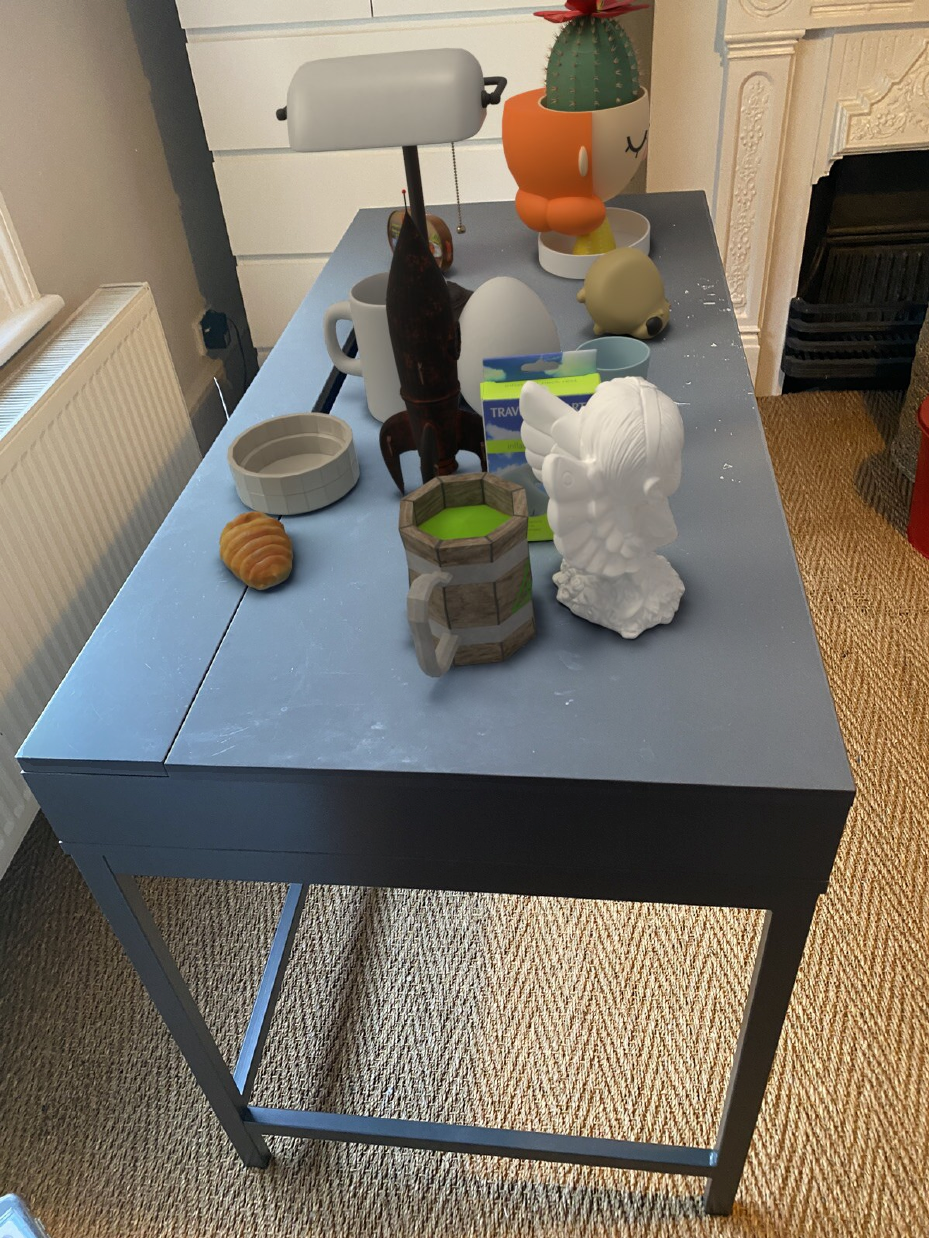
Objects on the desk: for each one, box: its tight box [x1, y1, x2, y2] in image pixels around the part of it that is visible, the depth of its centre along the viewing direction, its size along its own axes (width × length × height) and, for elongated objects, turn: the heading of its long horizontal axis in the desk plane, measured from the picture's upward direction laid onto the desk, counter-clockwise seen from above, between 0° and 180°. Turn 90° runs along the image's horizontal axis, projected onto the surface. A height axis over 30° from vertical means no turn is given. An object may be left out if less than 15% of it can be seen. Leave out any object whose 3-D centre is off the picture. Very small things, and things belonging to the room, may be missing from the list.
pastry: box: [218, 510, 294, 591], centre depth 89 cm, size 9×7×4 cm
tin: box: [386, 207, 454, 273], centre depth 144 cm, size 15×3×8 cm, turn 37°
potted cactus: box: [501, 0, 652, 280], centre depth 133 cm, size 22×22×35 cm
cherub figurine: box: [519, 376, 686, 640], centre depth 74 cm, size 13×12×20 cm
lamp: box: [275, 47, 508, 321], centre depth 118 cm, size 26×24×34 cm
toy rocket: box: [378, 188, 488, 497], centre depth 86 cm, size 9×9×30 cm
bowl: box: [226, 412, 361, 516], centre depth 99 cm, size 13×13×5 cm
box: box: [480, 349, 601, 542], centre depth 84 cm, size 10×4×17 cm, turn 88°
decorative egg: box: [457, 275, 562, 417], centre depth 105 cm, size 12×12×15 cm
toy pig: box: [575, 247, 672, 340], centre depth 119 cm, size 10×12×11 cm
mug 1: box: [323, 269, 461, 424], centre depth 108 cm, size 16×11×14 cm
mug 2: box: [397, 471, 537, 678], centre depth 75 cm, size 16×11×12 cm
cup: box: [574, 336, 651, 383], centre depth 97 cm, size 8×8×10 cm
